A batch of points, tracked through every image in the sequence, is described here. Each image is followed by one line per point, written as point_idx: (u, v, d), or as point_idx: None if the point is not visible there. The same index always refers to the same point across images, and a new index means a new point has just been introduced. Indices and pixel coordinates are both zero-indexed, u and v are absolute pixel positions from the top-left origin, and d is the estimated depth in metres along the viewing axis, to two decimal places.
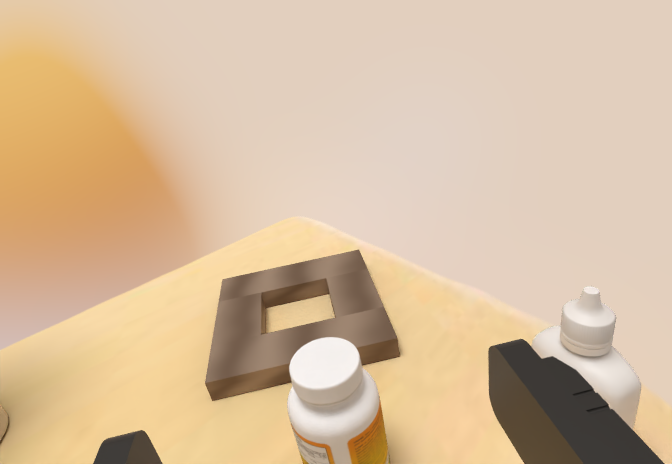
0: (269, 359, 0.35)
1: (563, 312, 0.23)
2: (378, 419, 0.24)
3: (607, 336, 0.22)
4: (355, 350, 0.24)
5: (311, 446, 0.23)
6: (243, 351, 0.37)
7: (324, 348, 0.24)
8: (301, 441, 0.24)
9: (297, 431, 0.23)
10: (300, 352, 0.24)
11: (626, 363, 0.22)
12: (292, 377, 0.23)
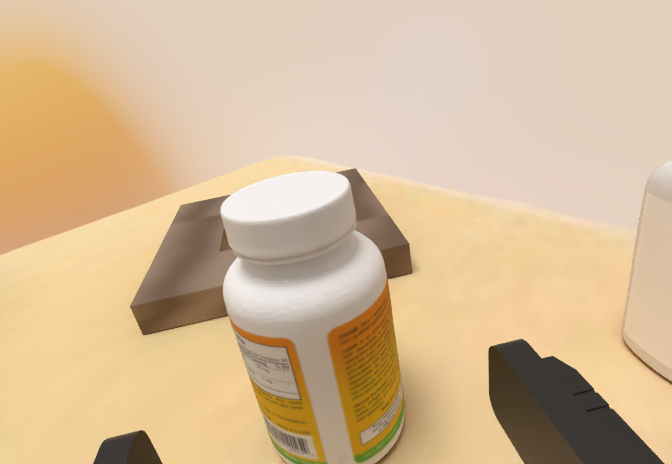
0: None
1: None
2: (385, 306, 0.13)
3: None
4: (342, 177, 0.13)
5: (260, 347, 0.12)
6: (192, 270, 0.26)
7: (288, 181, 0.14)
8: (244, 343, 0.13)
9: (236, 322, 0.13)
10: (245, 189, 0.14)
11: None
12: (223, 214, 0.12)
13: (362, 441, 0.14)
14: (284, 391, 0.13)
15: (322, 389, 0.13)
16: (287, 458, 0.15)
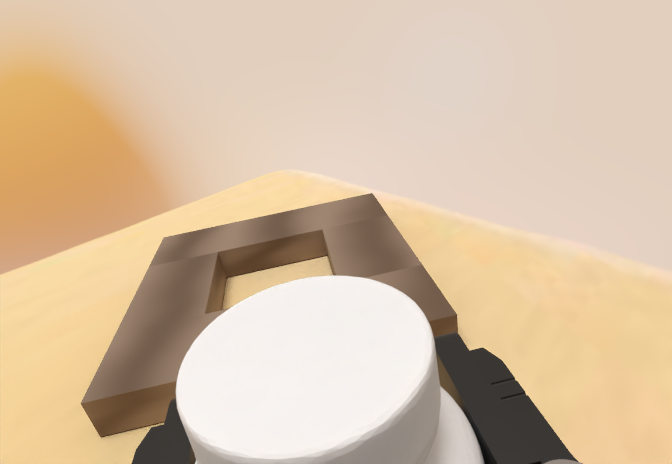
0: None
1: None
2: None
3: None
4: (412, 307, 0.07)
5: None
6: (168, 342, 0.20)
7: (307, 305, 0.07)
8: None
9: None
10: (229, 318, 0.07)
11: None
12: (179, 406, 0.06)
13: None
14: None
15: None
16: None
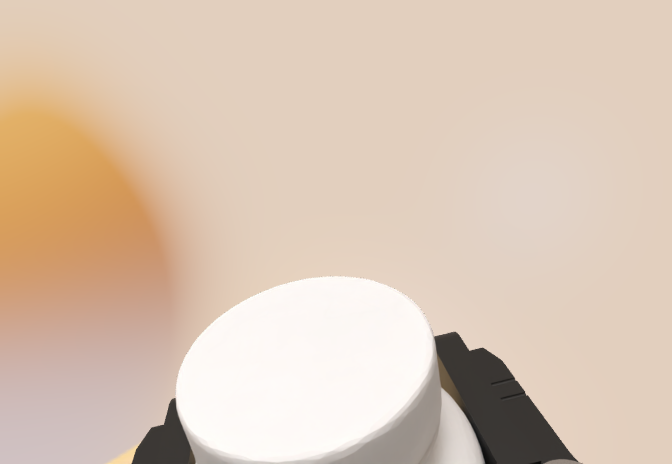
0: None
1: None
2: None
3: None
4: (413, 309, 0.07)
5: None
6: None
7: (307, 306, 0.07)
8: None
9: None
10: (229, 319, 0.07)
11: None
12: (178, 408, 0.06)
13: None
14: None
15: None
16: None
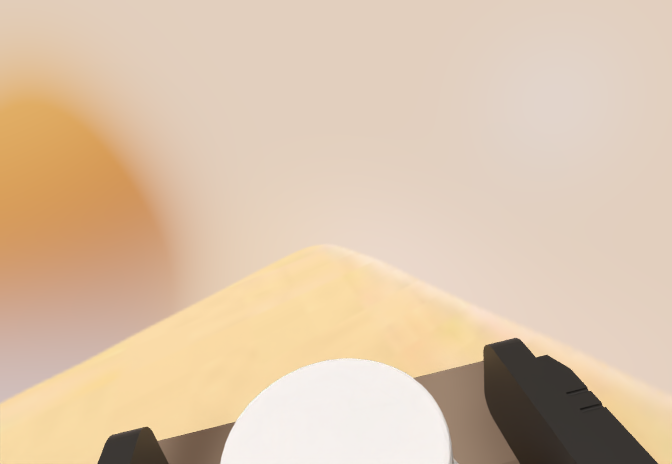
0: None
1: None
2: None
3: None
4: (430, 403, 0.08)
5: None
6: None
7: (332, 394, 0.08)
8: None
9: None
10: (261, 405, 0.08)
11: None
12: None
13: None
14: None
15: None
16: None
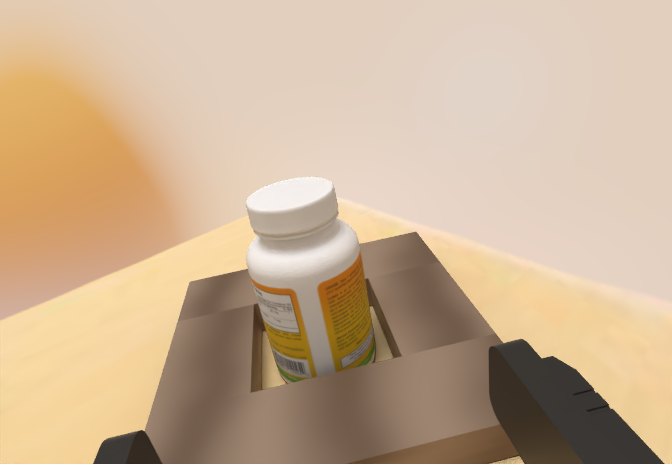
0: (268, 459, 0.16)
1: None
2: (358, 270, 0.20)
3: None
4: (329, 182, 0.19)
5: (273, 296, 0.18)
6: (213, 433, 0.17)
7: (291, 184, 0.20)
8: (262, 294, 0.19)
9: (256, 280, 0.19)
10: (262, 189, 0.20)
11: None
12: (248, 206, 0.18)
13: (342, 365, 0.20)
14: (288, 327, 0.19)
15: (314, 325, 0.19)
16: (290, 380, 0.21)
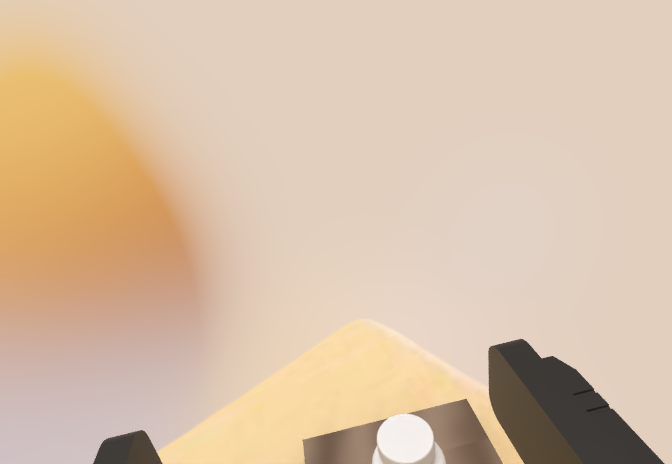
0: None
1: None
2: None
3: None
4: (428, 427, 0.30)
5: None
6: None
7: (402, 424, 0.31)
8: None
9: None
10: (383, 427, 0.31)
11: None
12: (382, 452, 0.29)
13: None
14: None
15: None
16: None
